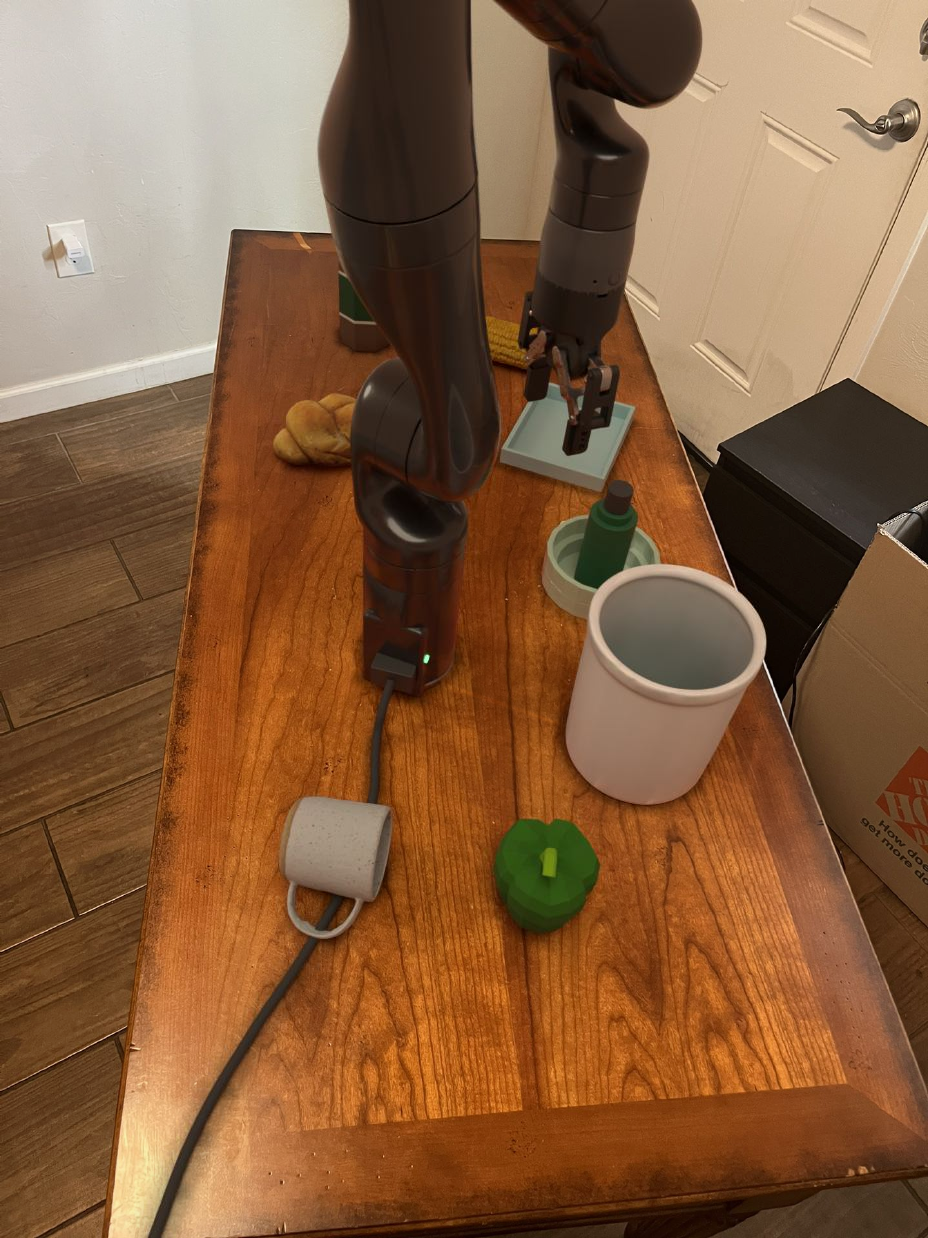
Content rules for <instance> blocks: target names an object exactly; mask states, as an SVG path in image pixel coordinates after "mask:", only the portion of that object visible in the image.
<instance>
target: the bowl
mask: <svg viewBox="0 0 928 1238" xmlns="http://www.w3.org/2000/svg"><path fill="white" fill-rule="evenodd" d="M588 517H589V514H584V515H583V514H582V515H577V516H573V517H571V518H568V519H566V520H564V521H562V522H561V523H560V524H558V525H557V526H556V527H555V528H554V529H553V530H552V531H551V533H550V535H549V538H548V539H547V542H546V547H545V552H544V557H543V562H542V567H541V584H542V586H543V588H544V590H545V592H546V595H547V596H548V597H549V598H550V600H552V601H553V603H555V605H556V606H557V607H558V608H560V609H561V610H563V611H565V612H567V613H568V614H569V615H571V616H573V617H576V618H578V619H582V620H585V621H587V617H588V611H589V607H590V604H591V601H592V598H593V596H594V594H595V593H596V591H597V590H598V589H595V588H592V587H589V586H586V585H583V584H581V583H579V582H577V581H576V580H574V575H575V571H576V567H577V562H578V558H579V554H580V550H581V546H582V542H583V538H584V533H585V529H586V525H587V521H588ZM653 564H662V563H661V557H660V551H659V549H658V546H657V545H656V544H655V542H654V540H653V538H651V537H650V535H648V534H647V533H646V532H645V531H644V530H642V529H641V528H640V527H638V526H636V529H635V532H634V535H633V539H632V542H631V545H630V549H629V552H628V556H627V559H626V562H625V566H624V569H623V571H624V570H627V569H630V568H633V567H638V566H643V565H653Z"/></svg>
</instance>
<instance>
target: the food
mask: <svg viewBox="0 0 928 1238" xmlns="http://www.w3.org/2000/svg"><path fill="white" fill-rule="evenodd" d="M485 316H486V325H487V333H488V340H489V346H490V352H491V358H492V361H494V362H497V363H501V364H505V365H509V366H514V367H516V368H519V369H522V370H526V371H527V369H528V366H527V365H526V362H525V353H526V351H525V349H520V348H519V346H518V335H519V329H520V324H521V323H520V324H519V323H514V322H512V321H507V320H504V319H503V320H502V319H498V318H496V317H494V316H488V315H485ZM537 330H538V328H532V329H531V330H530V334H529V335H531V334H537Z"/></svg>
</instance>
